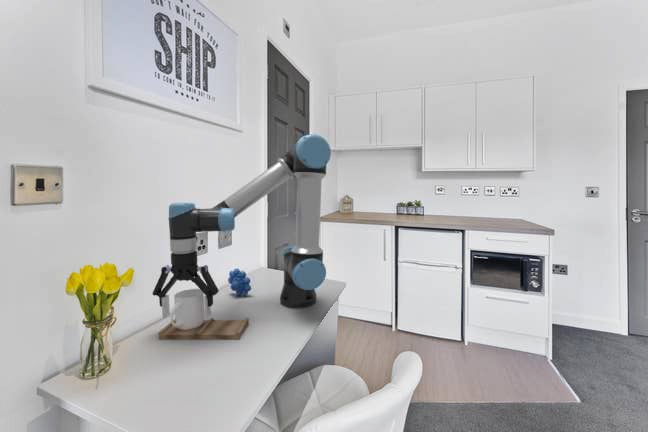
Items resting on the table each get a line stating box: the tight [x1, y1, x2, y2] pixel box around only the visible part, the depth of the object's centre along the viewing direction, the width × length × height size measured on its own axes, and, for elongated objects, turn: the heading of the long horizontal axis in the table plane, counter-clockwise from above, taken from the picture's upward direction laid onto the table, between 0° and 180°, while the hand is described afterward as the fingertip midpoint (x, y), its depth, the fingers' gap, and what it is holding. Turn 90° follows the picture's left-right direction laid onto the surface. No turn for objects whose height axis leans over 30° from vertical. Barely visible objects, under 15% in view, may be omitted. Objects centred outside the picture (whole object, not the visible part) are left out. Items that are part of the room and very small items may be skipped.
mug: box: [170, 288, 206, 330], centre depth 90 cm, size 9×12×11 cm
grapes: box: [227, 268, 252, 297], centre depth 120 cm, size 12×7×12 cm, turn 70°
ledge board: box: [158, 317, 250, 340], centre depth 90 cm, size 25×10×2 cm, turn 89°
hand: (187, 315), depth 90 cm, fingers open, 13 cm apart
